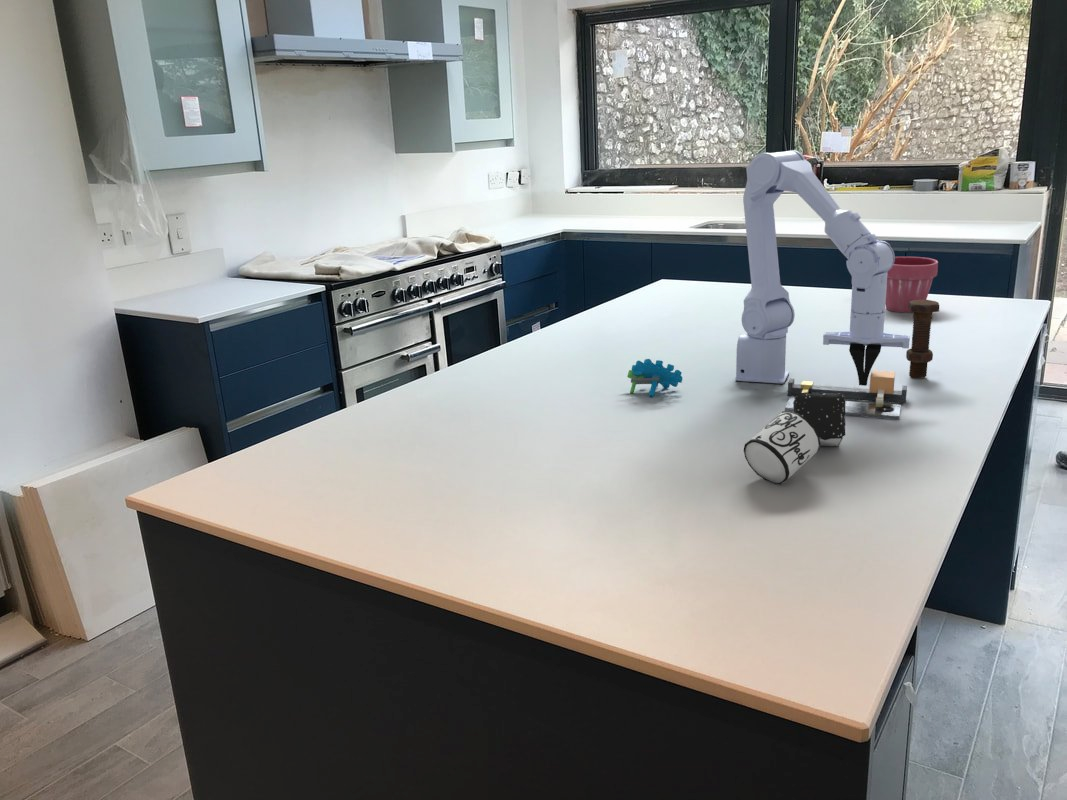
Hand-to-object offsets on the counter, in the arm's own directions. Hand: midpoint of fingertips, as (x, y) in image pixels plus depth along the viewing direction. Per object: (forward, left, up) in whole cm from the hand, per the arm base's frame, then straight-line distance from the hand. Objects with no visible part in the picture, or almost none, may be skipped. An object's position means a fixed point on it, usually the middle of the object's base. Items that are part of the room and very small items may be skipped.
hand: (863, 383), depth 161 cm
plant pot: (+5, +82, -3) cm, 82 cm away
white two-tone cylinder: (-7, -35, -3) cm, 36 cm away
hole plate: (-3, -7, -3) cm, 8 cm away
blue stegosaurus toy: (-38, -5, -3) cm, 38 cm away
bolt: (+9, +17, -3) cm, 19 cm away
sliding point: (+3, -3, -2) cm, 5 cm away
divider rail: (-3, -3, -3) cm, 5 cm away
